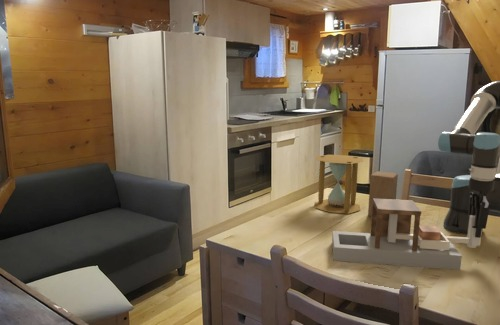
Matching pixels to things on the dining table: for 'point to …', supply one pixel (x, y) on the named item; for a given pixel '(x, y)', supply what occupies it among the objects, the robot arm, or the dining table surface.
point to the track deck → (390, 252)
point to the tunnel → (404, 211)
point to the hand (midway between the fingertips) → (473, 243)
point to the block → (429, 233)
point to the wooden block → (382, 187)
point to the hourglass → (337, 197)
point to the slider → (430, 244)
